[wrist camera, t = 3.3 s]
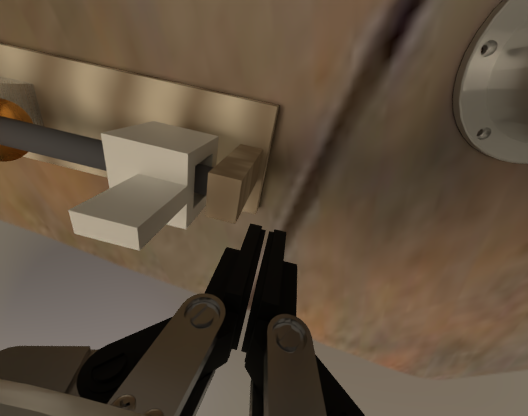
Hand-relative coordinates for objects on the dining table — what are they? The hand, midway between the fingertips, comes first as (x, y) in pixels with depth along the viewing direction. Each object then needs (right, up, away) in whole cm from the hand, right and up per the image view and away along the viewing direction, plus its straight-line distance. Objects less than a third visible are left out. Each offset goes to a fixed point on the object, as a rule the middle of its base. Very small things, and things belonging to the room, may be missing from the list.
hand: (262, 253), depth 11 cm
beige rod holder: (-12, +10, +12) cm, 19 cm away
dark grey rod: (-13, +7, +6) cm, 16 cm away
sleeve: (-6, +6, +7) cm, 11 cm away
